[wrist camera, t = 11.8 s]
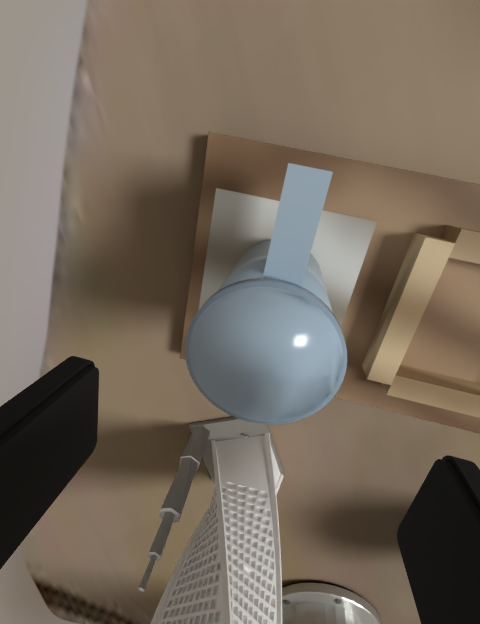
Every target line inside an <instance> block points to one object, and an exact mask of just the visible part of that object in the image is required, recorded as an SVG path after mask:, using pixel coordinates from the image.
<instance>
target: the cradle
mask: <svg viewBox="0 0 480 624" xmlns="http://www.w3.org/2000/svg"><path fill="white" fill-rule="evenodd" d="M448 258H453V259H458V260H463V261H467V262H472V263H477V264H480V231H475V230H470V229H465V228H460V227H455V226H451V225H447V227H446V229H445V231H444V234H443V236H442V238H438V237H433V236H428V235H423V234H419V233H414V235H413V238H412V240H411V243H410V246H409V248H408V251H407V253H406V256H405V258H404V261H403V263H402V266H401V268H400V271H399V273H398V276H397V278H396V281H395V283H394V286H393V288H392V291H391V293H390V296H389V298H388V301H387V303H386V306H385V308H384V311H383V313H382V316H381V318H380V321H379V324H378V326H377V329H376V331H375V334H374V336H373V339H372V341H371V344H370V346H369V349H368V351H367V354H366V356H365V359H364V361H363V364H362V367H363V370H364V372H365V375H366V378H367V379H368V380H372V381H376V382H380V383H382V385H383V387H384V390H385V392H386V394H387V395H390V396H394V397H398V398H402V399H406V400H410V401H414V402H418V403H422V404H426V405H430V406H434V407H438V408H442V409H446V410H450V411H454V412H458V413H462V414H466V415H470V416H474V417H479V418H480V383H477V382H472V381H468V380H464V379H460V378H456V377H452V376H447V375H443V374H439V373H435V372H431V371H426V370H422V369H418V368H414V367H410V366H406V365H401V362H402V360H403V357H404V355H405V353H406V351H407V349H408V346H409V344H410V342H411V340H412V338H413V335H414V333H415V331H416V329H417V327H418V324H419V322H420V320H421V318H422V316H423V313H424V311H425V309H426V307H427V304H428V302H429V300H430V298H431V296H432V293H433V291H434V289H435V287H436V285H437V282H438V280H439V278H440V276H441V274H442V271H443V269H444V267H445V265H446V263H447V260H448Z"/></svg>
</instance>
